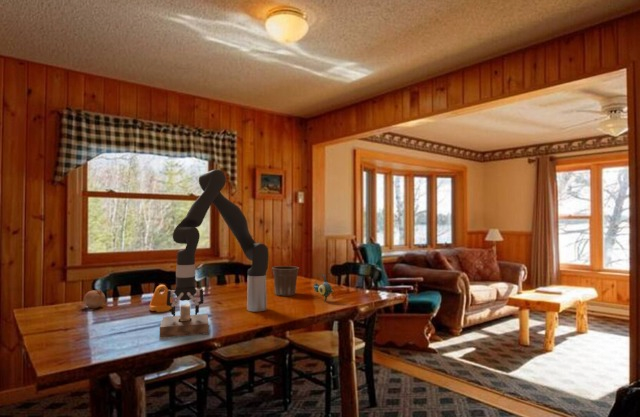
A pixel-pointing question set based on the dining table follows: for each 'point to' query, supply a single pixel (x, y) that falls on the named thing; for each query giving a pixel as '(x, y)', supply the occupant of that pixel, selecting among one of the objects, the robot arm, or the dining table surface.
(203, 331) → the board
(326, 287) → the decorative fish
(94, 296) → the onion
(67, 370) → the dining table surface
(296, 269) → the plant pot
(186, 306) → the peg
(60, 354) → the dining table surface
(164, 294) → the bracket
